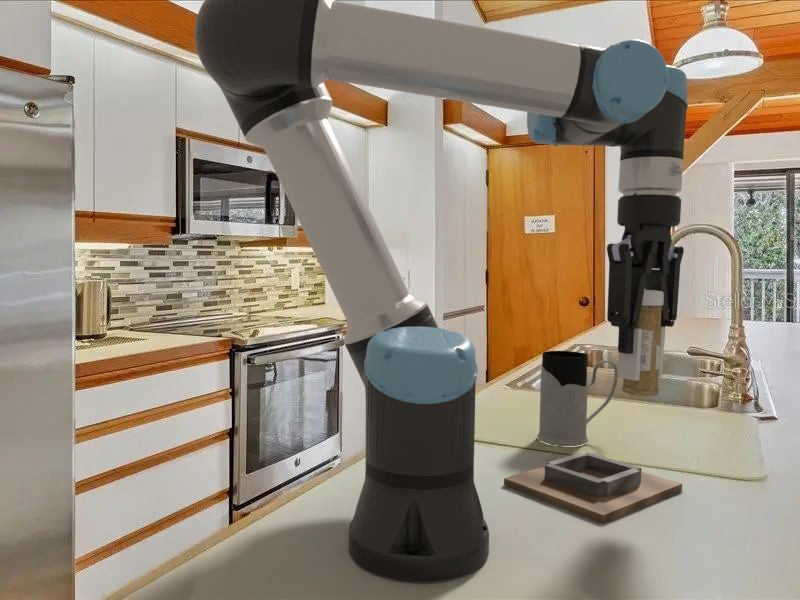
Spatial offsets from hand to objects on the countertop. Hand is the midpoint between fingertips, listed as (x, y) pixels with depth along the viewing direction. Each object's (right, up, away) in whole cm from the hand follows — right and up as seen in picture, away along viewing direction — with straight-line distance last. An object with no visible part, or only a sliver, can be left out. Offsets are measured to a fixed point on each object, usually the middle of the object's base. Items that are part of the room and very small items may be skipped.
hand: (639, 376), depth 85 cm
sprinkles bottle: (0, -2, 0) cm, 2 cm away
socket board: (-5, -16, +5) cm, 17 cm away
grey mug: (0, -14, +29) cm, 32 cm away
